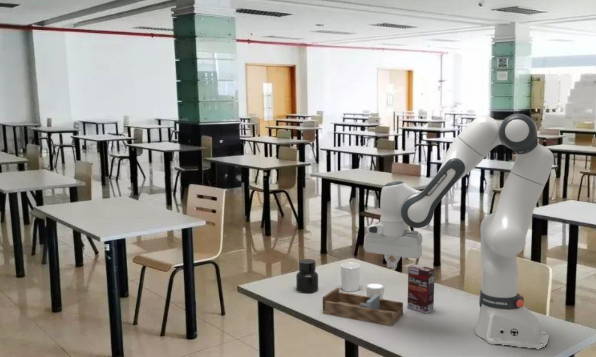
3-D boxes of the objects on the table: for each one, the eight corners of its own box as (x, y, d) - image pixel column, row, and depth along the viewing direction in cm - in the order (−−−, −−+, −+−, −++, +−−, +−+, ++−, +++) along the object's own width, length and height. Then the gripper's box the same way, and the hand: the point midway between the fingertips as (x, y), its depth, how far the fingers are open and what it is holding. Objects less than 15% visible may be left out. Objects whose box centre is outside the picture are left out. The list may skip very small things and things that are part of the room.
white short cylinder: (383, 307, 217) (383, 289, 216) (365, 306, 219) (365, 288, 218) (384, 301, 224) (384, 283, 223) (366, 299, 225) (366, 282, 224)
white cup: (363, 288, 239) (363, 264, 238) (354, 293, 233) (354, 269, 231) (346, 284, 243) (346, 261, 242) (337, 290, 237) (337, 266, 235)
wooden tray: (402, 314, 210) (403, 298, 209) (391, 326, 199) (391, 309, 199) (336, 302, 222) (336, 287, 222) (322, 313, 212) (322, 297, 211)
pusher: (379, 308, 212) (379, 294, 212) (370, 316, 205) (370, 302, 204) (365, 306, 215) (365, 292, 214) (355, 314, 207) (355, 300, 206)
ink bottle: (319, 286, 241) (319, 258, 240) (318, 293, 233) (318, 264, 231) (296, 286, 242) (296, 258, 241) (294, 293, 234) (294, 264, 232)
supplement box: (406, 308, 216) (407, 266, 214) (413, 304, 220) (414, 263, 217) (427, 314, 210) (428, 271, 208) (434, 310, 214) (435, 268, 211)
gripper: (425, 229, 199) (424, 269, 201) (369, 223, 209) (368, 261, 211) (419, 233, 193) (418, 274, 195) (362, 227, 203) (361, 265, 205)
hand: (392, 267), depth 203 cm, fingers closed
